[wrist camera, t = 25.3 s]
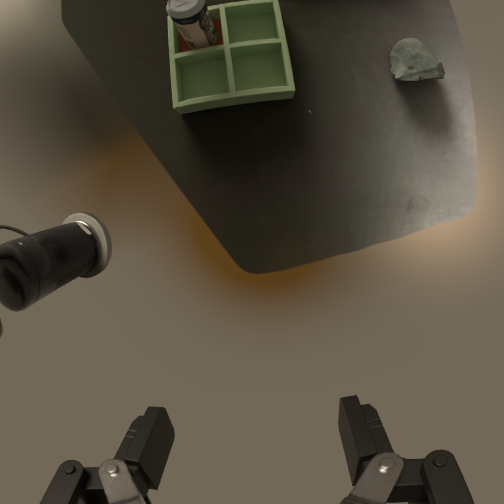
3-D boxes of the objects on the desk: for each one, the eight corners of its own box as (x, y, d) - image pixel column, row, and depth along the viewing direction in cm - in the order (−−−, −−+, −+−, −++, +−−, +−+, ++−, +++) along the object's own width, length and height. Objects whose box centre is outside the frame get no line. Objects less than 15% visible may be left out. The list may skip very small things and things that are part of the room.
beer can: (221, 45, 36) (207, 6, 24) (191, 56, 37) (168, 20, 25) (213, 23, 35) (197, -18, 23) (184, 33, 36) (160, -5, 24)
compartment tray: (181, 114, 40) (173, 108, 36) (174, 26, 36) (167, 15, 32) (292, 98, 39) (295, 90, 35) (276, 11, 35) (277, -2, 31)
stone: (365, 53, 37) (403, 99, 36) (371, 37, 33) (411, 85, 32) (410, 43, 36) (445, 86, 35) (417, 30, 32) (455, 73, 31)
